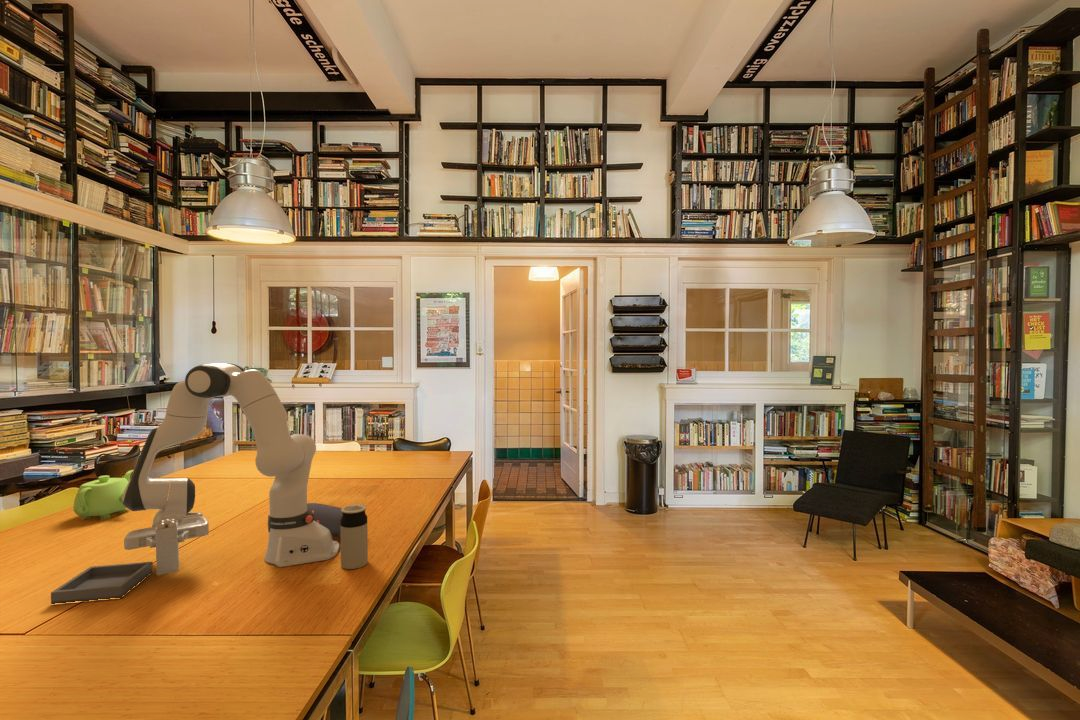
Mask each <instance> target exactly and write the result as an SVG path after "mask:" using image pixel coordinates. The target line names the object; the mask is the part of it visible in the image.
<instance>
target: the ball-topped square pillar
mask: <svg viewBox="0 0 1080 720" xmlns="http://www.w3.org/2000/svg"><path fill="white" fill-rule="evenodd" d="M155 532H156V547H155V560H156V563H155V564H156V576H161V575H167V574H171V573H175V572H179V570H180V569H179V568H180V556H179V554H180V553H179V552H180V551H179V547H180V546H179V543H178V521H176V520H175V519H171V520H169V519H166V520H164V521H160V522H158V524H157V525H156V530H155Z"/></svg>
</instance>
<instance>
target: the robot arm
mask: <svg viewBox="0 0 1080 720" xmlns="http://www.w3.org/2000/svg"><path fill="white" fill-rule="evenodd" d="M171 390H172V391H171V393H170V395H169V399H168V403H167V406H166V411H165V412H166V413H165V416H164V419H163V420H162V422H161V424H160V425H158V426H157V427H154V428H152V429H151V430H150V432H149V433H148V436H146V440H145V443H144V444H143V447H142V449H141V451H140V454H139V457H138V458H137V461H136V464H135V467H134V469H133V470H134V471H133V472H132V474H131V477H130V481H129V483H128V484H127V486H126V488H125V490H124V493H123V497H122V501H123V505H124V506H125V507H127V508H126V509H128V510H129V511H131V512H140V511H147V510H157V511H156V514H155V515H154V518H153V521H152V525H151V527H146V528H145V527H144V528H138V529H135V530H131V531H130V532H128V533H127V534H126V535H125V536H124V538H123V545H124V547H123V548H124V550H127V551H130V550H136V549H141V548H146V547H149V548H150V549H152V548H156V532H155V530H156V525H157V524H158V522H160V521H164V520H166V519H169V520H171V519H175V520H176V521H178V544H179V543H184V542H185V541H186V540H188V539H189V540H190V539H194V538H200V537H206V536H208V535H209V533H210V532H209V531H210V528H209V520H208V519H207V518H206V517H204V516H203V513H202V512H191V511H192V509H194V506H195V502H196V501H195V500H196V484H195V483H194V482H193V480H192V479H190V478H189V477H169V478H168V477H167V478H166V477H161V478H160V477H158V478H157V477H155V478H154V477H150V476H149V474H150V471H151V469H152V465H153V463H154V461H155V458H156V456H157V454H158V453H160V452H161V451H162V450H164V449H166V448H168V447H171V446H172V447H173V446H175V445H178V444H179V445H180V444H184V443H186V442H189V441H192V440H193V439H195V438H197V437H198V436H200V435H201V434H202V433H203V432H204V429H205V426H206V422H207V416H208V410H209V405H210V403H211V401H212V400H213V399H215V398H223V397H228V396H231V397H234V399H235V400H236V401H237V403H238V405H239V407H240V409H241V411H242V412H243V414H244V416H245V418H246V420H247V422H248V423H249V426H250V428H251V430H252V433H253V437H254V440H255V444H256V456H255V467H256V469H257V471H259V473H261V474H262V475H263V476H265V477H274V479H273V482H272V484H271V486H270V487H269V493H268V494H269V496H268V497H269V501H268V503H269V514H268V515H267V530H268V541H267V546H266V547H267V548H266V552H265V555H264V558H263V559H264V561H265V562H267V563H268V564H272V565H275V566H276V567H278V568H283V567H289V566H290V567H291V566H296V565H297V566H298V565H302V564H309V563H313V562H314V563H315V562H320V561H327V560H331V559H332V558H334V557H335V556H336V555H337V554H338V553H339V550H340V549H341V545H340V543H339V542H338V540H333V536H332V535H331V532H330V530H329V529H328V528H326V527H324V526H322V525H321V524H319V523H317V522H316V521H314V510H313V511H312V512H311V511H310V510H308V509H307V504H308V485H309V483H308V482H309V478H310V477H309V476H310V472H311V467H312V462H313V458H314V456H315V454H316V452H317V445H316V442H315V440H314V438H312V437H311V435H308V434H303V433H302V434H301V433H295V434H290V430H289V427H288V418H289V416H288V412H287V410H286V408H285V406H284V405H283V403H282V401H281V399H280V397H279V396H278V394H277V392H276V390H275V389H274V387H273V384H271V382H270V381H269V380H268V379H267V377H266V375H264V373H263V372H261V371H260V370H258V369H247V370H246V369H244V367H242V366H241V365H238V364H236V363H235V364H234V363H222V362H213V363H203V364H202V363H201V364H198V365H197V366H195V367H193V368H191V369H190V370H188V371H187V373H186V375H185V378H184V380H181V381H179V382H177V383H176V384H175V385H174V386H173V388H172V389H171Z"/></svg>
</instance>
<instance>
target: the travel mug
mask: <svg viewBox="0 0 1080 720" xmlns="http://www.w3.org/2000/svg"><path fill="white" fill-rule="evenodd" d="M341 508H342V509H341V511H342V514H343V516H342V518H341V520H340V526H341V535H340V567H341V568H343V569H346V570H356V568H357V569H360V568H363V567H364V566H366V565H367V564H368V562H369V561H368V560H369V559H368V558H369V557H368V554H369V552H368V551H369V550H368V549H369V546H368V544H369V543H368V539H369V538H368V515H367V514H366V510H367V505H364V504H349V505H346V506H344V507H341Z"/></svg>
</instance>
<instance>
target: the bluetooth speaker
mask: <svg viewBox="0 0 1080 720" xmlns="http://www.w3.org/2000/svg"><path fill="white" fill-rule="evenodd" d="M342 508H343V507H339V506H334V505H329V504H324V503H317V502H307V509H308V510H310V511H311V512H312V511H313V510H314V521H316V522H317V523H319V524H321V525H322V526H324V527H326V528H328V529H329V530H330V532H331V535H332V537H338V536H341V526H340V520H341V518H342V516H343V514H342V511H341V509H342Z"/></svg>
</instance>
